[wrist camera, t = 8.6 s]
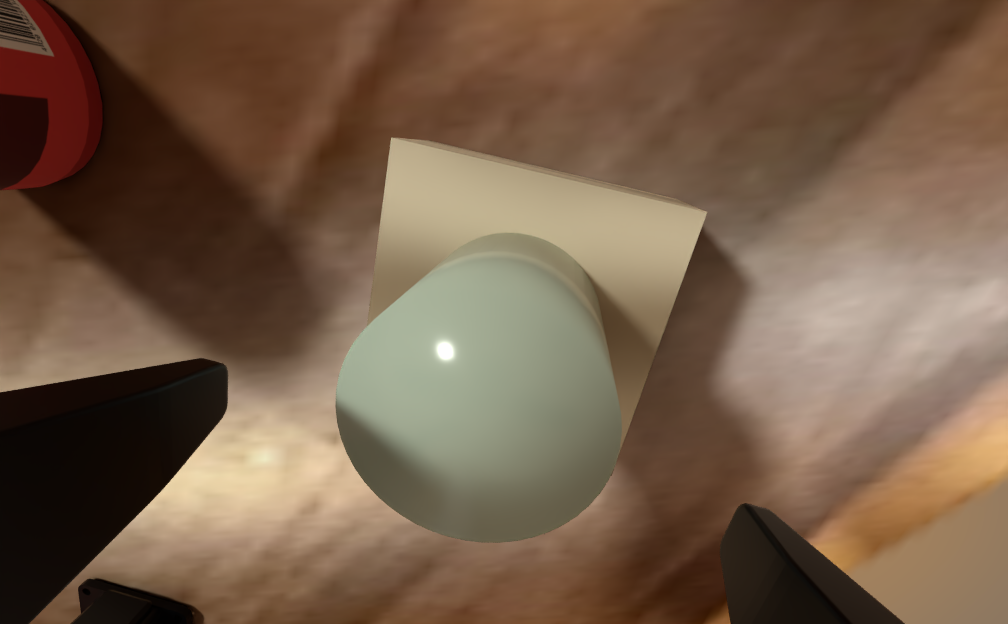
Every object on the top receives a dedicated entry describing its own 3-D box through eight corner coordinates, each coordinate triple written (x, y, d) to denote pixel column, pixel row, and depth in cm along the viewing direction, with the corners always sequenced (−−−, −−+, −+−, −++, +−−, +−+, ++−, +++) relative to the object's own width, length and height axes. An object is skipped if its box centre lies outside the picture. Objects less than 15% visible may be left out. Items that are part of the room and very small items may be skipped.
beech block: (602, 414, 20) (611, 476, 16) (395, 360, 20) (356, 408, 16) (675, 198, 17) (707, 212, 13) (430, 140, 17) (391, 137, 13)
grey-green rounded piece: (573, 419, 15) (575, 571, 10) (411, 376, 16) (324, 502, 10) (624, 258, 14) (663, 332, 8) (439, 212, 14) (351, 253, 8)
